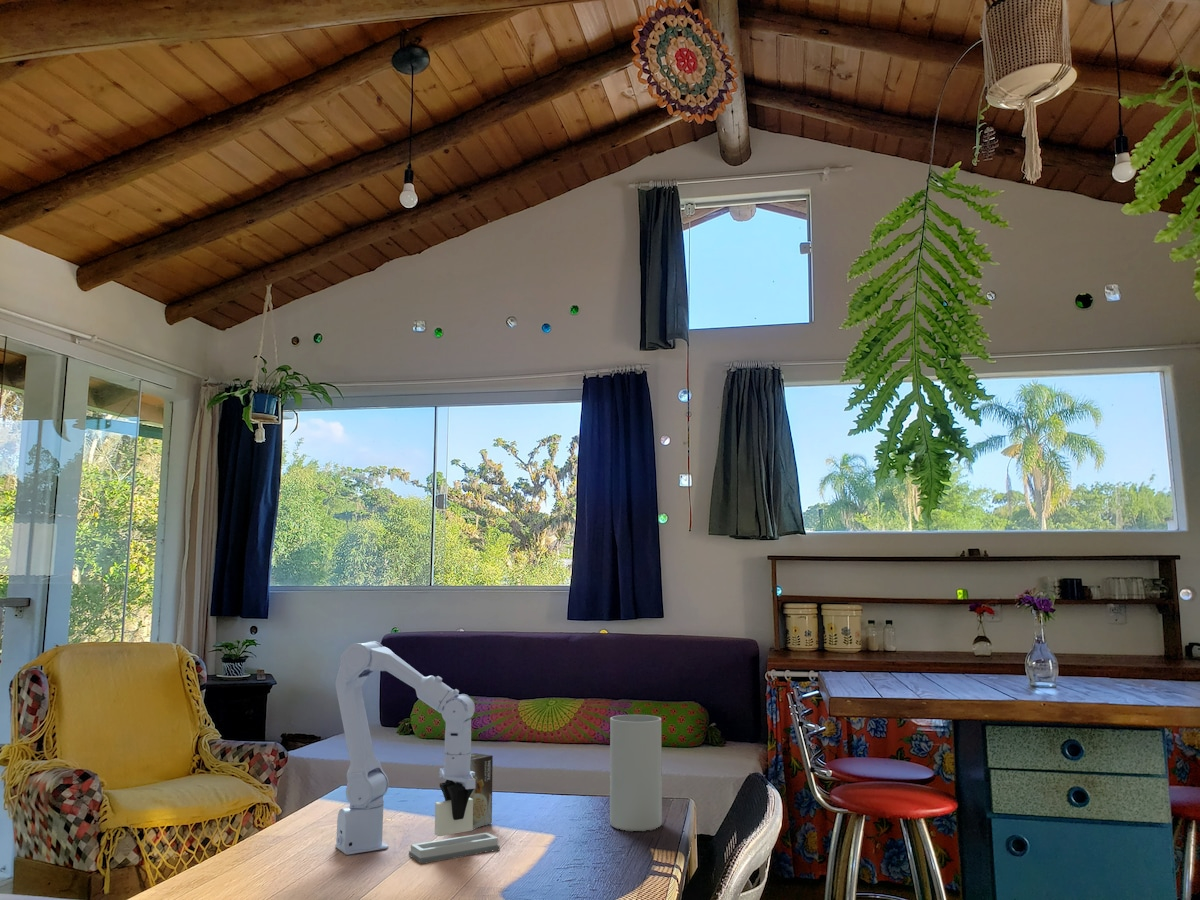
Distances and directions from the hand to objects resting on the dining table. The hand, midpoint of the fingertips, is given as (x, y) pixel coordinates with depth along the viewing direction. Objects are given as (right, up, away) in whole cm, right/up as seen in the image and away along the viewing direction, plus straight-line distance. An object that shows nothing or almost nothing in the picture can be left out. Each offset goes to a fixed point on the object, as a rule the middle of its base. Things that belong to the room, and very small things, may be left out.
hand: (455, 817), depth 193 cm
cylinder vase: (+40, -11, +22) cm, 47 cm away
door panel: (0, -3, -1) cm, 3 cm away
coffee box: (0, -11, +20) cm, 23 cm away
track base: (0, -7, -1) cm, 7 cm away
